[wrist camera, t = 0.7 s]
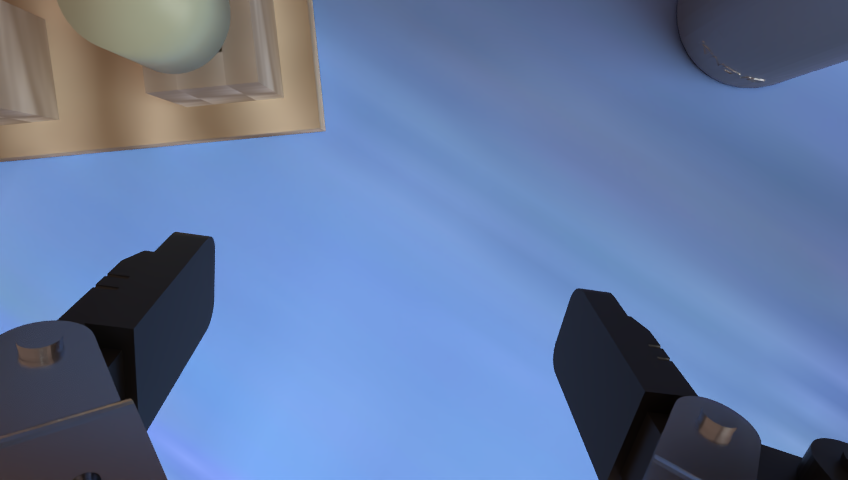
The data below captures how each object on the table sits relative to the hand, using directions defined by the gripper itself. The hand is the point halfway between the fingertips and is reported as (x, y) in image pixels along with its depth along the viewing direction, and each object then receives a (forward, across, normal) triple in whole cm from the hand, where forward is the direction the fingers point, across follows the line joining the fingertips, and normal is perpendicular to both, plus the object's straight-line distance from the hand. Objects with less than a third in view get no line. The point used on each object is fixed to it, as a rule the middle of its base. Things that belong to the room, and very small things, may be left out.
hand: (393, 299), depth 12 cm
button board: (+26, +17, +1) cm, 31 cm away
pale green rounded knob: (+20, +11, -3) cm, 23 cm away
